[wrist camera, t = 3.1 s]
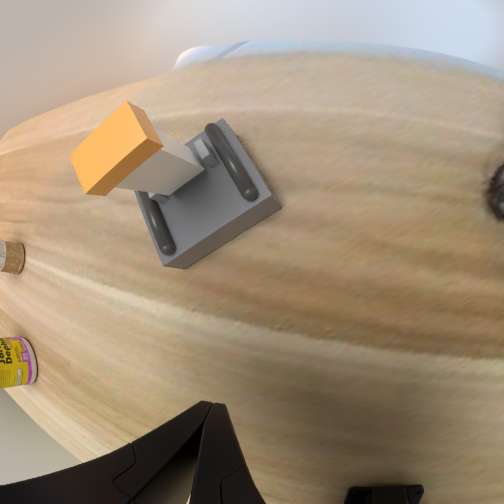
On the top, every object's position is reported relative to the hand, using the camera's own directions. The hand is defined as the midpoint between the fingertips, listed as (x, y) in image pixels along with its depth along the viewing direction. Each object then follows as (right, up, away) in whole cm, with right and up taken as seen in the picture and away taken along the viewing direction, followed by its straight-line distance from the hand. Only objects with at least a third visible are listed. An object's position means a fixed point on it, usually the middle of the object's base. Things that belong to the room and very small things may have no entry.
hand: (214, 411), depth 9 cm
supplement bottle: (-30, -10, +22) cm, 38 cm away
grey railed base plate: (-2, +9, +15) cm, 18 cm away
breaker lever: (-4, +11, +12) cm, 16 cm away
